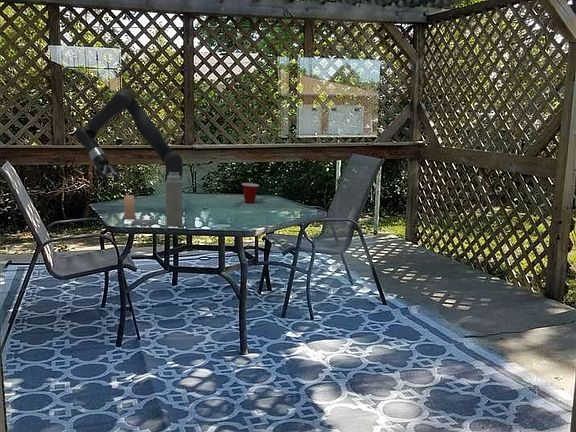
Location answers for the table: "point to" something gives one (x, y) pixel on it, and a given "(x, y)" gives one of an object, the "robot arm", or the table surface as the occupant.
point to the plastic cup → (249, 192)
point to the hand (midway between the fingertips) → (112, 181)
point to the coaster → (143, 222)
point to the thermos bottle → (173, 199)
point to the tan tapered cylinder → (129, 207)
